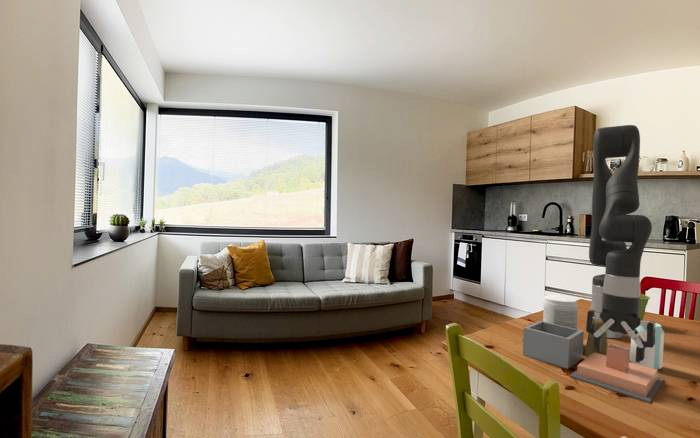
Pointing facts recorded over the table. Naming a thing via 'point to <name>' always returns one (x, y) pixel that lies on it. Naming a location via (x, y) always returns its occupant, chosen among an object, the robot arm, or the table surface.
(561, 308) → the supplement tub
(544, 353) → the storage box
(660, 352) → the can
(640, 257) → the robot arm
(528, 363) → the table surface
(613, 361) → the lid
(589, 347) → the pepper mill
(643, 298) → the plant pot
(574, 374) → the mat
